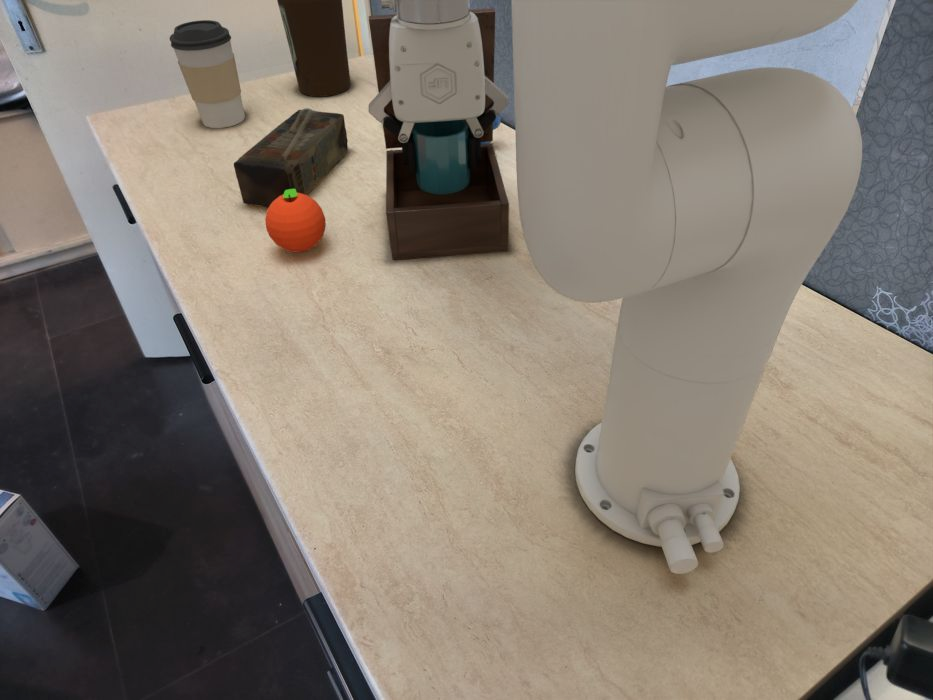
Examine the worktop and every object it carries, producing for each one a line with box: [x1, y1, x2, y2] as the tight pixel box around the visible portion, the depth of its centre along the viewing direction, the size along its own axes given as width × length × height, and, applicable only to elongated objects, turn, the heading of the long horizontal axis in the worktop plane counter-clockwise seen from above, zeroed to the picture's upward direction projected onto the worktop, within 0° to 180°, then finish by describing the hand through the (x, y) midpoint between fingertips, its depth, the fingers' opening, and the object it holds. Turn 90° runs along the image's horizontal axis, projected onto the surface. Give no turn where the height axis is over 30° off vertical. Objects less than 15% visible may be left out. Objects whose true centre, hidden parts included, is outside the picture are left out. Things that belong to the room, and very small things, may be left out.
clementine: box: [264, 189, 327, 253], centre depth 77 cm, size 8×7×7 cm
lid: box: [368, 7, 496, 150], centre depth 79 cm, size 17×14×6 cm
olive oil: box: [276, 0, 351, 97], centre depth 111 cm, size 11×11×25 cm
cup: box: [412, 120, 470, 194], centre depth 77 cm, size 6×6×7 cm
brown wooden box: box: [385, 142, 510, 261], centre depth 81 cm, size 16×14×6 cm
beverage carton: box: [233, 107, 349, 208], centre depth 91 cm, size 8×19×7 cm, turn 164°
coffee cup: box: [169, 19, 246, 129], centre depth 104 cm, size 9×9×15 cm
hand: (442, 166), depth 78 cm, fingers closed on cup, 6 cm apart
